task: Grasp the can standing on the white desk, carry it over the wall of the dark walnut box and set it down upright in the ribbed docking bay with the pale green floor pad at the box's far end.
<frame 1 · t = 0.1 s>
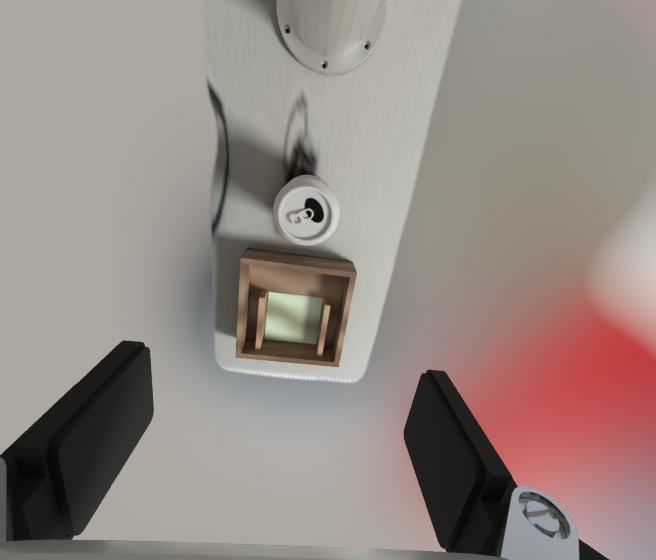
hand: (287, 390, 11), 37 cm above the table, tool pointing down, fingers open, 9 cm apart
can: (307, 201, 44), on the table
walnut box: (295, 302, 50), on the table
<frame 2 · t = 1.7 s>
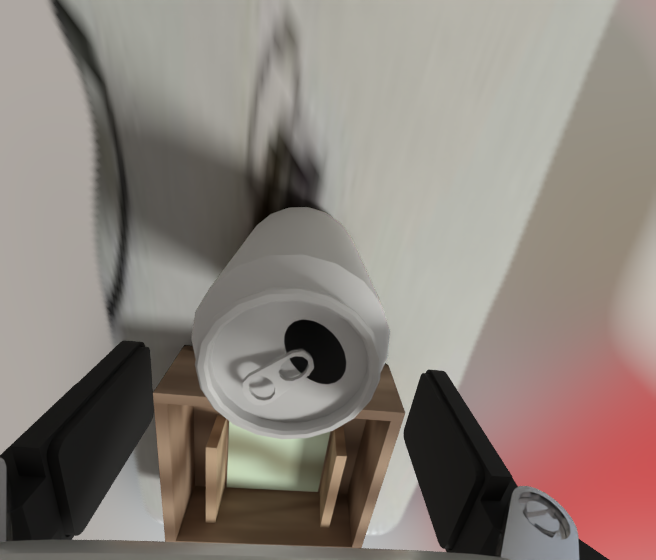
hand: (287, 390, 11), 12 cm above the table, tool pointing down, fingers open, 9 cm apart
can: (301, 258, 21), on the table
walnut box: (280, 429, 27), on the table
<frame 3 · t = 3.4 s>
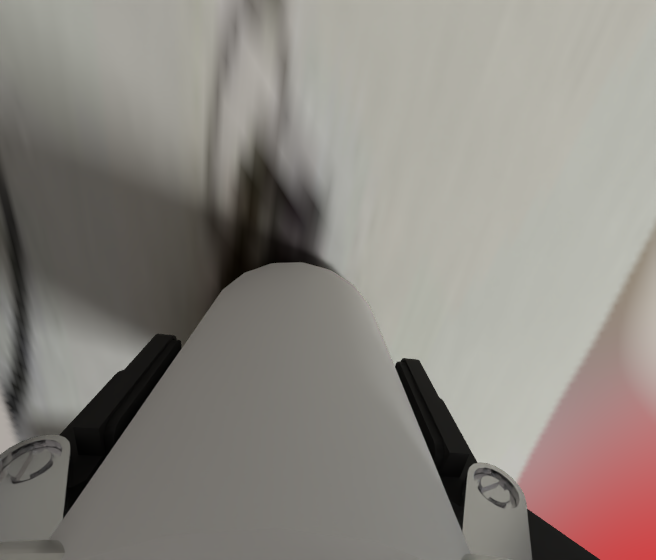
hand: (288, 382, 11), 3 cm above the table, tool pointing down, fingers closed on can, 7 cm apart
can: (293, 330, 14), on the table, touching gripper
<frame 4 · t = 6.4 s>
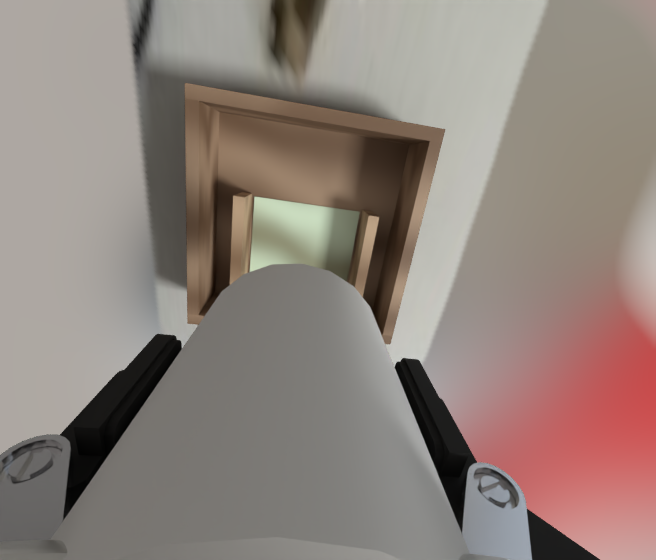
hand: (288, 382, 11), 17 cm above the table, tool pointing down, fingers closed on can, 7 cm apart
can: (293, 332, 14), point 14 cm above the table, touching gripper
walnut box: (305, 222, 26), on the table
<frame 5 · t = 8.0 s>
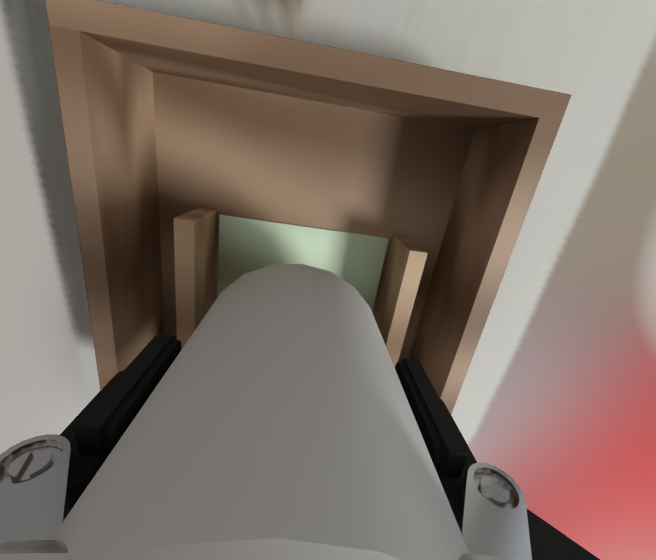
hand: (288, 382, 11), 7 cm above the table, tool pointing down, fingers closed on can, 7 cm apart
can: (293, 332, 14), point 4 cm above the table, touching gripper
walnut box: (302, 253, 17), on the table
when the fingers open (5 cm above the table, at t = 9.4 s): can drops 1 cm, resting on walnut box.
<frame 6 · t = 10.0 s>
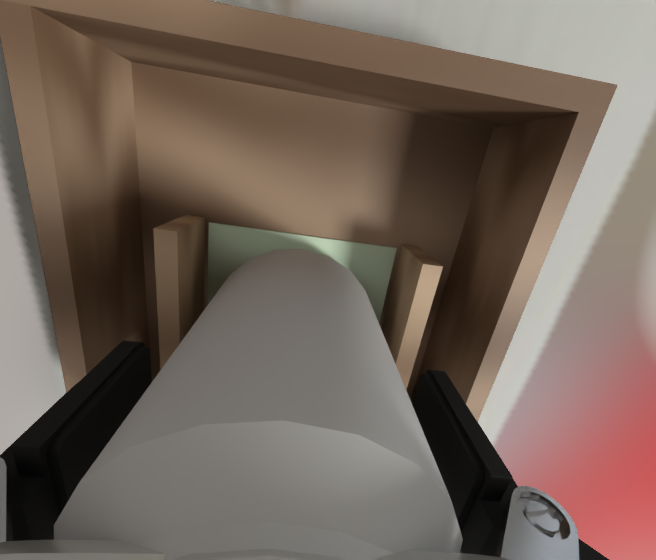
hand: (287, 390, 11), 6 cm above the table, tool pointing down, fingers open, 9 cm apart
can: (295, 314, 16), point 1 cm above the table, touching walnut box
walnut box: (301, 264, 15), on the table
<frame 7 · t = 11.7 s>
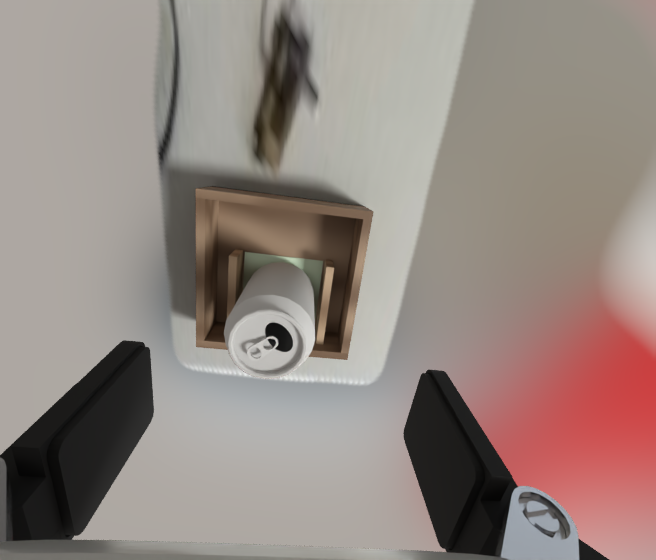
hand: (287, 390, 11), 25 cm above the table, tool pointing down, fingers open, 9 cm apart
can: (281, 290, 35), point 1 cm above the table, touching walnut box
walnut box: (283, 268, 35), on the table
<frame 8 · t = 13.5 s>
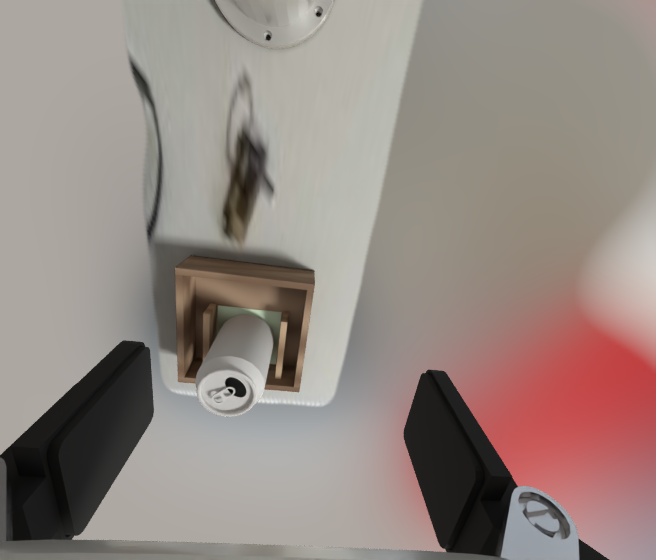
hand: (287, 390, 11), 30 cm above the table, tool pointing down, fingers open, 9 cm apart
can: (248, 334, 44), point 1 cm above the table, touching walnut box
walnut box: (250, 317, 43), on the table
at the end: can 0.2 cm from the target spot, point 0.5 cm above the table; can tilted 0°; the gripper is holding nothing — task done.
